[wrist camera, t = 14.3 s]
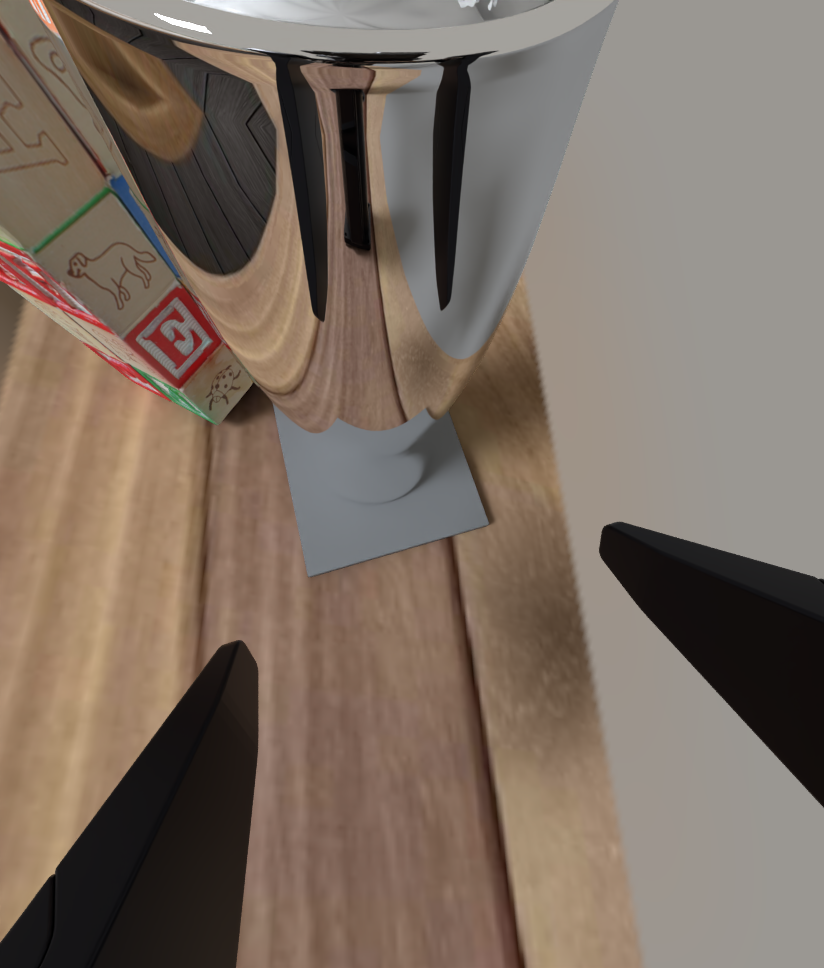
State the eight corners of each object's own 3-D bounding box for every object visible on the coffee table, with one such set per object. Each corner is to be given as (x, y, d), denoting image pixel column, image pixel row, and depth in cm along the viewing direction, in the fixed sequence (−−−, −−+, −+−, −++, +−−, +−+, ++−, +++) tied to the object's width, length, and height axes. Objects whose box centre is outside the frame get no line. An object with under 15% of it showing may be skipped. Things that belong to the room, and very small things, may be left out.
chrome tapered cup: (466, 457, 18) (785, -56, 4) (361, 543, 16) (201, 195, 2) (382, 367, 19) (379, -278, 5) (276, 438, 17) (-206, -248, 3)
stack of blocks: (340, 164, 25) (272, -225, 13) (416, 189, 24) (414, -214, 12) (128, 383, 18) (-364, -3, 7) (218, 430, 17) (-188, 65, 6)
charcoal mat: (485, 526, 18) (489, 524, 17) (310, 577, 16) (308, 576, 16) (418, 337, 21) (419, 330, 20) (267, 366, 19) (264, 360, 19)
